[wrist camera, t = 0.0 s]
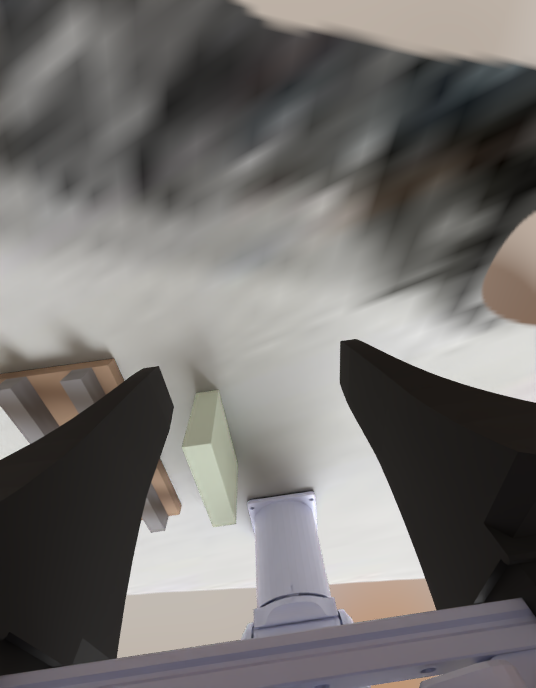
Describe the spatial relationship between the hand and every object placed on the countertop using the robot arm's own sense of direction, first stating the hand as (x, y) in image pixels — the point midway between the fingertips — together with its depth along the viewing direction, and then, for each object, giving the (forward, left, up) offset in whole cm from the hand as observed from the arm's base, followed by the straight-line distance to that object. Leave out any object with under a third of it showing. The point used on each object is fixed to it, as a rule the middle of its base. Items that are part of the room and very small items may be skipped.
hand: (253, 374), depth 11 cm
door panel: (-13, +5, -10) cm, 17 cm away
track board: (-13, +16, -10) cm, 23 cm away
